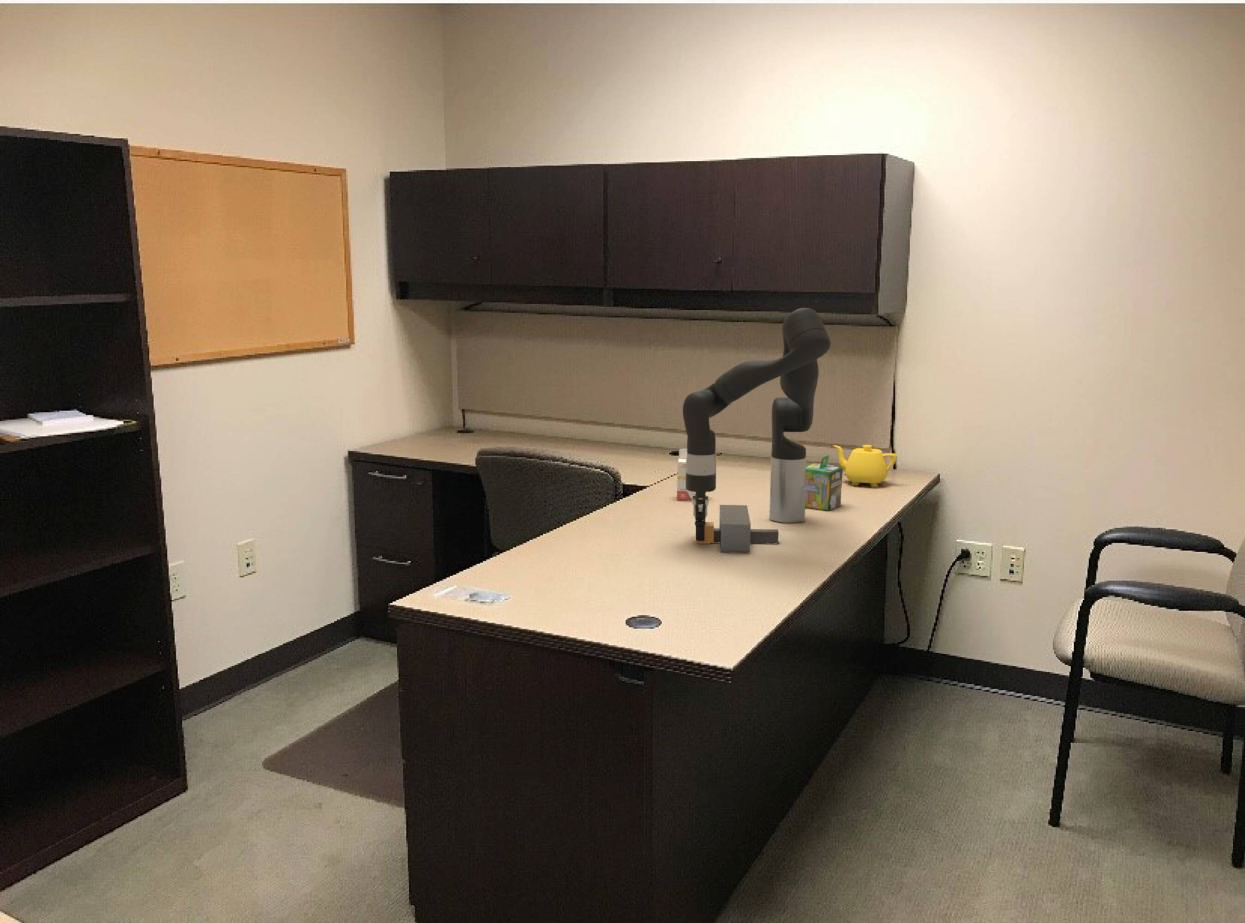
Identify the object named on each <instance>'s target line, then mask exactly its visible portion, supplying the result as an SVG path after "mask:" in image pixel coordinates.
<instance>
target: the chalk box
mask: <svg viewBox="0 0 1245 923" xmlns="http://www.w3.org/2000/svg"><path fill="white" fill-rule="evenodd" d="M829 458H830V454H827V455H825V456H823V457H822V459H821V461H820V463H817V462H813V463H811V464H809V465H807V466H806V468H805V487H806V497H805V509H806V508H807V509H813V510H821V511H827V512H830V511H831V510H833V509H835V508H838V507H839V506H841V505H842V486H843V485H842V484H843V471H844V469H843V467H841V466H840V465H831V464H828V461H829ZM824 461H825V462H824Z"/></svg>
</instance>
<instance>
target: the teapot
mask: <svg viewBox="0 0 1245 923" xmlns="http://www.w3.org/2000/svg"><path fill="white" fill-rule="evenodd" d="M833 447H835V449H836V450H837V453H838V463H839V466H840V467H843V471H844V473H845V476H846V479H847V480H848V481H850V482H851V483H850V486H853V487H858V485H860V483H861V484H862V483H863V484H864V483H866V484H869V485H870V486H871V488H879V484H881V483H882V482H884V481H885V480H886V478H887V476H888V472H889V471H890V469H891V468H892V467H893V466H894V465H895V463H896V462H897V459H898V455H897V454H896V453H892V452H891V453H883V451H882V450H881V449H878V448H872V447H873V445H870V444H863V445H862V447H857V448H854V449H853V450H852V452H851V453H850V455H849V457H848V459H846V458H845V456H844V450H843V448H842V447H841V446H839V445H836V444H833ZM885 457H886V458H887V457H889V458H890V462H889V463H888V465H887V461H886V458H885ZM877 483H878V484H877Z"/></svg>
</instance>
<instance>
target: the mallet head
mask: <svg viewBox="0 0 1245 923" xmlns="http://www.w3.org/2000/svg"><path fill="white" fill-rule="evenodd" d="M718 518H719V523H718V524H719V526H718V528H721V529H720V543H719V546H720V548H721V549H720V553H729V552H750V553H751V543H750V532H751V529H752V528H751V525H752V524H751V519H750V514H749V509H748V505H746V504H719V517H718Z"/></svg>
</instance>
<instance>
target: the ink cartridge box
mask: <svg viewBox="0 0 1245 923" xmlns="http://www.w3.org/2000/svg"><path fill="white" fill-rule="evenodd" d="M686 458H687V448H680V449H678V461H677V472H676V474H677V475H676V476H677V480H676V482H677V483H676V500H677V501H686V500H693V496H695V494H696V492H691V491H688V490H687V489H686ZM705 494H706V495H707V492H706V493H705Z"/></svg>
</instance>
